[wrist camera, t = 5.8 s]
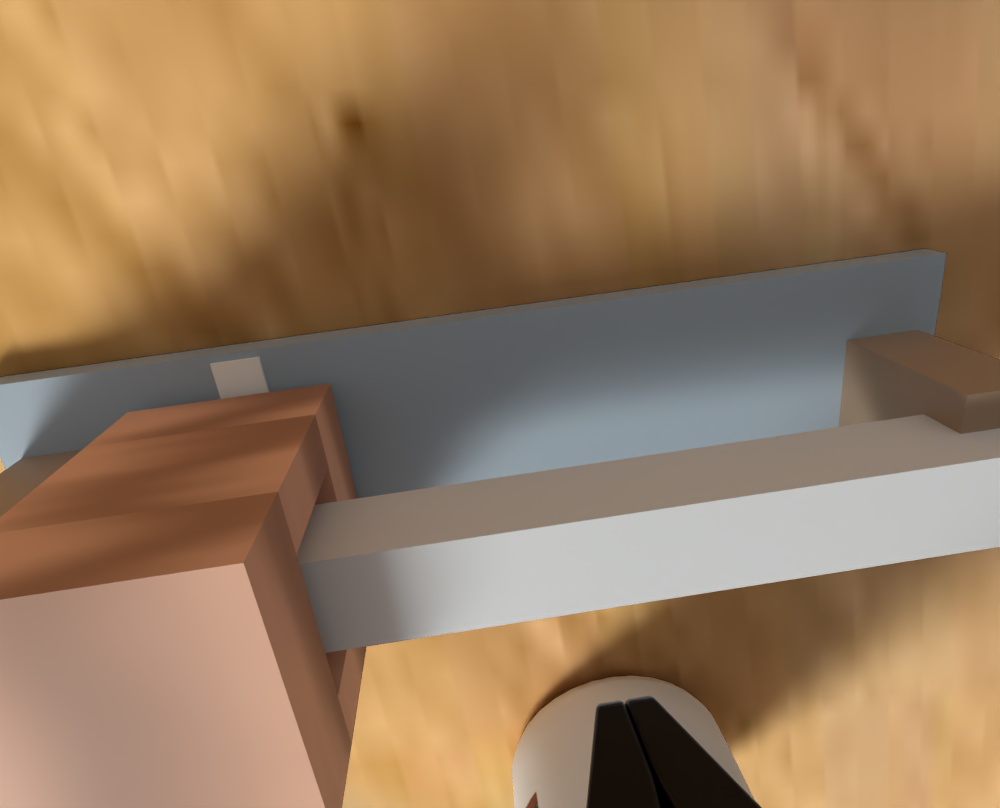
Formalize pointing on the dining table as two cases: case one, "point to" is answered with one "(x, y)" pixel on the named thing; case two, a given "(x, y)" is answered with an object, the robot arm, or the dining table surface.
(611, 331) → the rail
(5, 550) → the collar
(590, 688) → the milk bottle
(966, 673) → the dining table surface
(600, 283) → the dining table surface
